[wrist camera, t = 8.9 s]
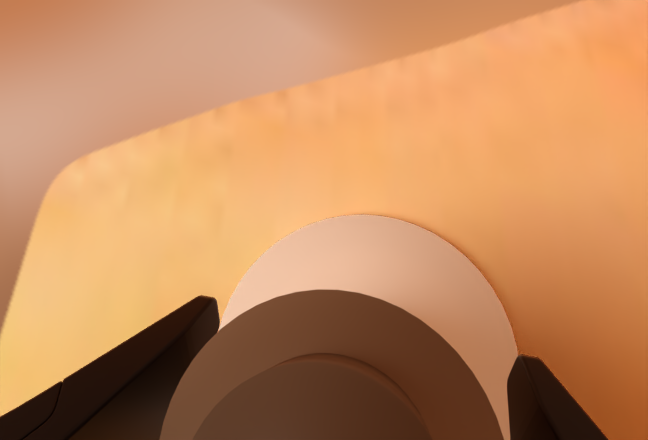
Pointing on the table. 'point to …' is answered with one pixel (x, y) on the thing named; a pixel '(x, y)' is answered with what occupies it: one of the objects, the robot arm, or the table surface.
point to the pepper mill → (329, 377)
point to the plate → (393, 287)
